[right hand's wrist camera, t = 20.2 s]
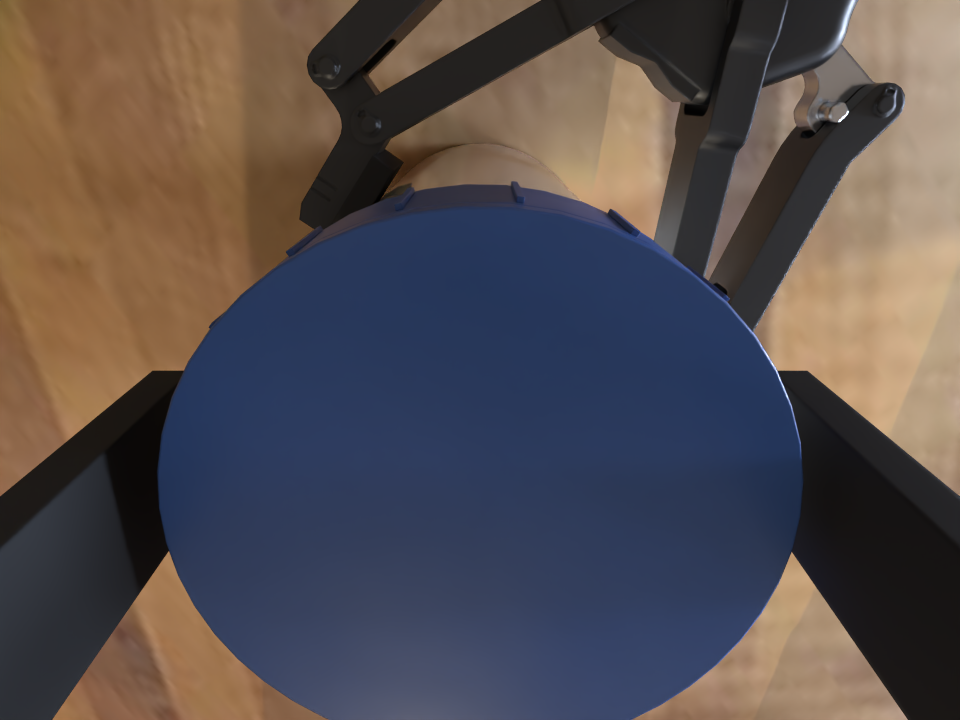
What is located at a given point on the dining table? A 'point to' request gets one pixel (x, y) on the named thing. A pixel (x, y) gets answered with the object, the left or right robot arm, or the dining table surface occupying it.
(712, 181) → the left robot arm
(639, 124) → the dining table surface
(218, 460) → the lid
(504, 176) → the jar
